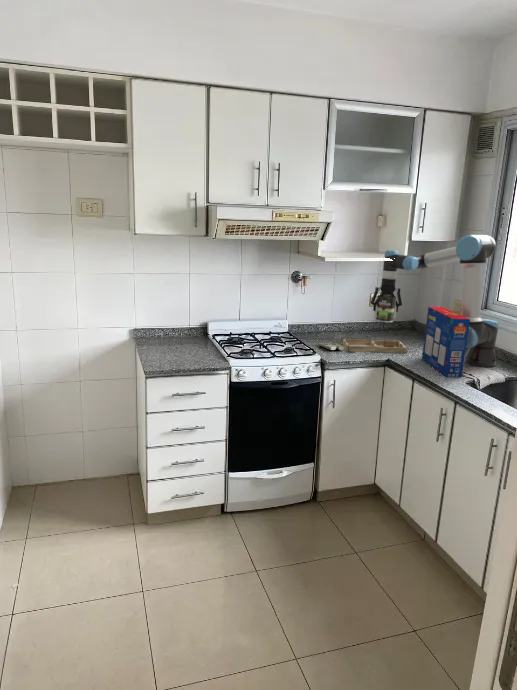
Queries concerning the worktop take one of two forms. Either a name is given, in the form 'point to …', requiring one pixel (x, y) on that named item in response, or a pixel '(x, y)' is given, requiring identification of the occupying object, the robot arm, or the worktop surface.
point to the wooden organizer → (372, 346)
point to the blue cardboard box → (445, 341)
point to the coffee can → (385, 308)
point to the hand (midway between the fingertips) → (384, 317)
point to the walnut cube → (388, 343)
